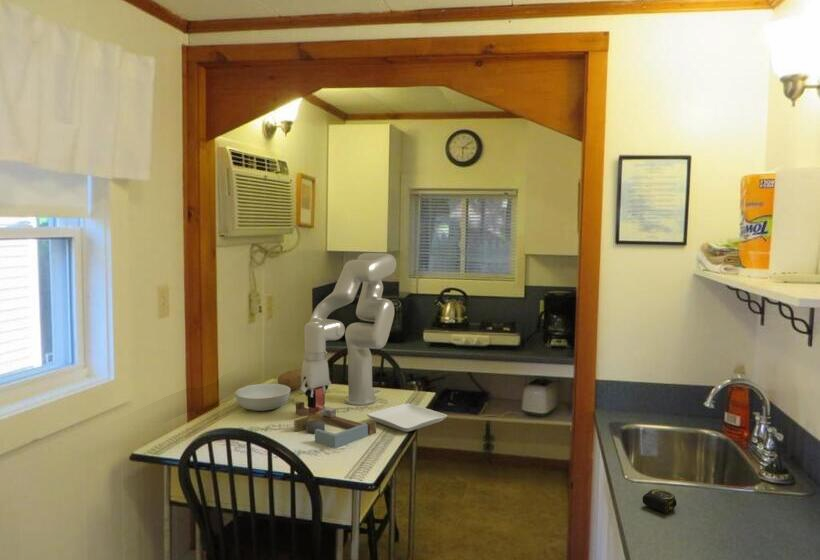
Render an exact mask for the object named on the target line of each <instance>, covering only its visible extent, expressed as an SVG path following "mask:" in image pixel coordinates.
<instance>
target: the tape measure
mask: <svg viewBox="0 0 820 560" xmlns="http://www.w3.org/2000/svg"><path fill="white" fill-rule="evenodd" d="M641 501H642V503H643V504H644V505H645V506H647V507H649V508H652V509H654V510H657V511H660V512H662V513H665V514H668V513H669V512H671V511H673V510H674V509H675V508H676V507H677V500H676V497H675V495H674V493H672V492H670V491H667V490H665V489H657V488H656V489H651V490H649V491H647V493H645V494H644V495H643V496H642V499H641Z"/></svg>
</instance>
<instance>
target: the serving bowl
mask: <svg viewBox="0 0 820 560" xmlns="http://www.w3.org/2000/svg"><path fill="white" fill-rule="evenodd" d="M291 391H292V390H291V389H290V388H289V387H288V386H285V385H281V384H278V383H258V384H250V385H246V386H245V385H244V386H243V387H239V388H238V389H237V390H236V391H235V398H236V401H237V403H238V404H239V405H240V406H241V407H243V408H245V409H246V410H249V411H250V410H251V411H258V412H263V411H264V412H266V411H270V410H271V411H272V410H275V409H278V408H280V407H282V406H284V405H285V404H286V403H287V402H288V400H289V399H290V396H291Z"/></svg>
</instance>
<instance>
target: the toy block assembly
mask: <svg viewBox="0 0 820 560" xmlns="http://www.w3.org/2000/svg"><path fill="white" fill-rule="evenodd" d="M310 391H311V390H310ZM313 397H315V407H314V408H311V407H308V406H307V408H308V409H309V412H310V413H313V414H310V415H307V416H301V417H297V418H294V419H293V430H294V431H296V432H298V431H301V430H303V429H307V423H308V422H309V421H314V420H320V421H323V416H328V417H334V416H337V411H336V410H337V409H336V408H333V407H328V406H325V404H324V387H318V388H314V394H313Z"/></svg>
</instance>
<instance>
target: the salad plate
mask: <svg viewBox="0 0 820 560" xmlns="http://www.w3.org/2000/svg"><path fill="white" fill-rule="evenodd" d="M366 416H367V417H368V418H369V419H371V421H375V422H376V423H379V424H381V425H383V426H386V427H389V428H392V429H396V430H398V431H401V432H405V433H406V432H407V433H408V432H413V431H416V430H420V429H423V428H426V427H429V426H431V425H434V424H437V423H440V422H443V421H444V420H445V419H446V418H447V417H448V414H445V413H442V412H439V411H435V410H432V409H430V408H427V407H426V408H425V407H423V406H419V405H416V404H413V403H403V404H399V405H395V406H391V407H387V408H382V409H379V410H376V411H372V412H368V413H367V414H366Z"/></svg>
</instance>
